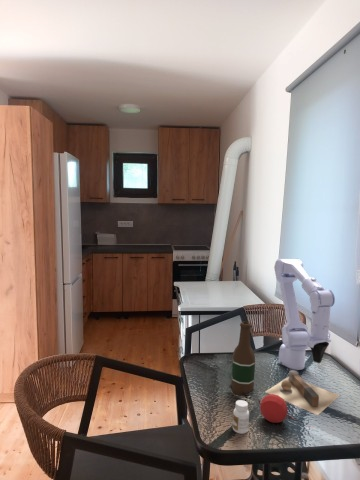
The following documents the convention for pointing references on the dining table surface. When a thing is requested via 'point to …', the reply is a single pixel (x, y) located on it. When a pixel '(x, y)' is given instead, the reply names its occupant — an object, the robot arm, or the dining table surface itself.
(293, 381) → the lever
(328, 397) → the board
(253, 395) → the dining table surface
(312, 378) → the dining table surface
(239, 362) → the beer bottle
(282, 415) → the red round piece
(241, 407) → the pill bottle
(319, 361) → the robot arm
